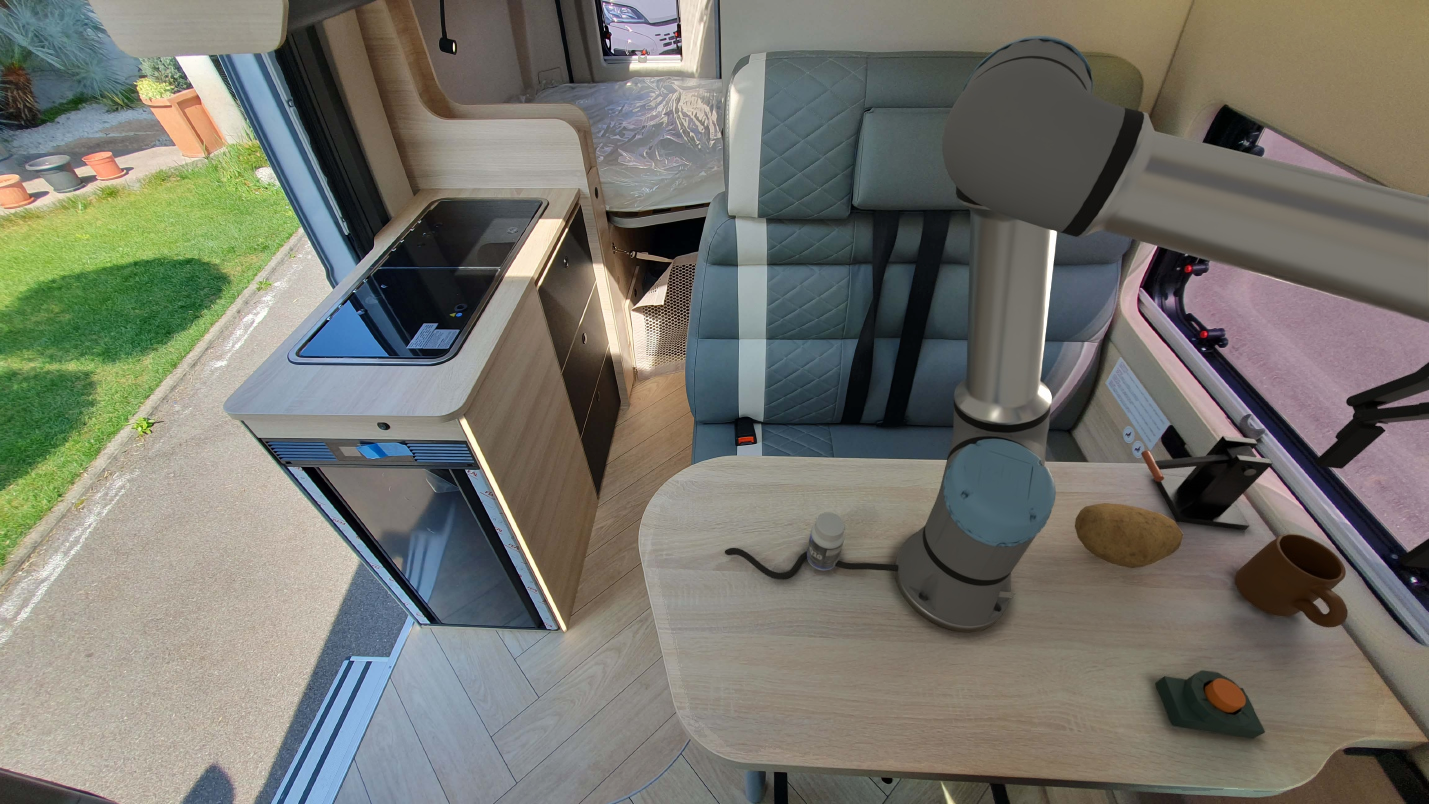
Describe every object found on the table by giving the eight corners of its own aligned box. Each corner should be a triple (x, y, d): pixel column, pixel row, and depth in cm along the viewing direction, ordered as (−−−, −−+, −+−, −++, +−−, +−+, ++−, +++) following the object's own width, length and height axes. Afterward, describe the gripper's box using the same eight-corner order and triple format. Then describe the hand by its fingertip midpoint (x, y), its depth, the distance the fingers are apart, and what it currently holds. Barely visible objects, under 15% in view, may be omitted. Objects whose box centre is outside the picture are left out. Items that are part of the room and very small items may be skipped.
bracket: (1176, 521, 91) (1225, 467, 82) (1152, 478, 97) (1196, 424, 89) (1245, 530, 90) (1302, 476, 81) (1216, 486, 96) (1267, 431, 88)
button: (1212, 710, 66) (1221, 704, 65) (1199, 682, 69) (1207, 676, 68) (1242, 715, 66) (1251, 709, 65) (1228, 686, 68) (1237, 680, 67)
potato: (1177, 583, 82) (1210, 552, 77) (1076, 575, 83) (1101, 543, 78) (1146, 527, 90) (1174, 495, 84) (1053, 519, 91) (1075, 487, 85)
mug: (1330, 654, 75) (1388, 619, 69) (1267, 646, 76) (1318, 610, 70) (1277, 573, 84) (1324, 535, 78) (1221, 566, 85) (1263, 528, 78)
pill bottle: (799, 549, 86) (806, 515, 80) (827, 539, 87) (835, 505, 82) (816, 576, 83) (824, 542, 77) (844, 564, 84) (854, 530, 78)
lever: (1154, 484, 88) (1156, 474, 87) (1140, 458, 92) (1141, 448, 91) (1259, 475, 84) (1263, 464, 83) (1239, 448, 88) (1243, 437, 87)
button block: (1173, 730, 68) (1192, 718, 65) (1152, 678, 73) (1169, 664, 70) (1256, 744, 67) (1279, 732, 64) (1229, 690, 72) (1250, 676, 69)
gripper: (1786, 475, 41) (1502, 620, 55) (1484, 290, 59) (1330, 435, 73) (1668, 464, 41) (1417, 610, 56) (1405, 284, 60) (1267, 429, 74)
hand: (1367, 510), depth 65 cm, fingers open, 13 cm apart
